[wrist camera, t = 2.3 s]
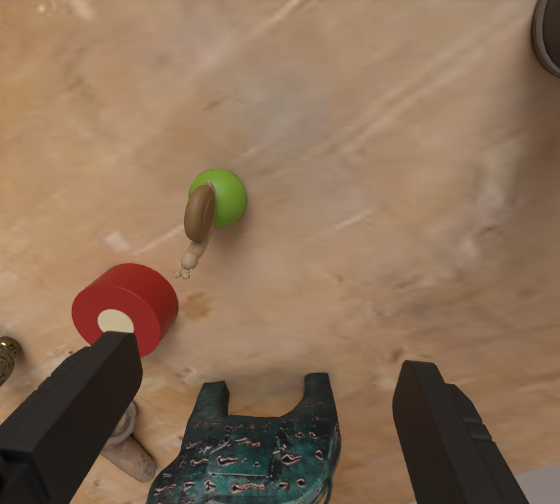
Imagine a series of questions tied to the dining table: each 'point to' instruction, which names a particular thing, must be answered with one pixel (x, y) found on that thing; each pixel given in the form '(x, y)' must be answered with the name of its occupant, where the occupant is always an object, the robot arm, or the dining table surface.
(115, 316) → the cheese
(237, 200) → the snail figurine
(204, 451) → the ceramic cat
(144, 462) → the pipe
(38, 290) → the dining table surface
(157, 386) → the dining table surface
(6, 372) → the cup
